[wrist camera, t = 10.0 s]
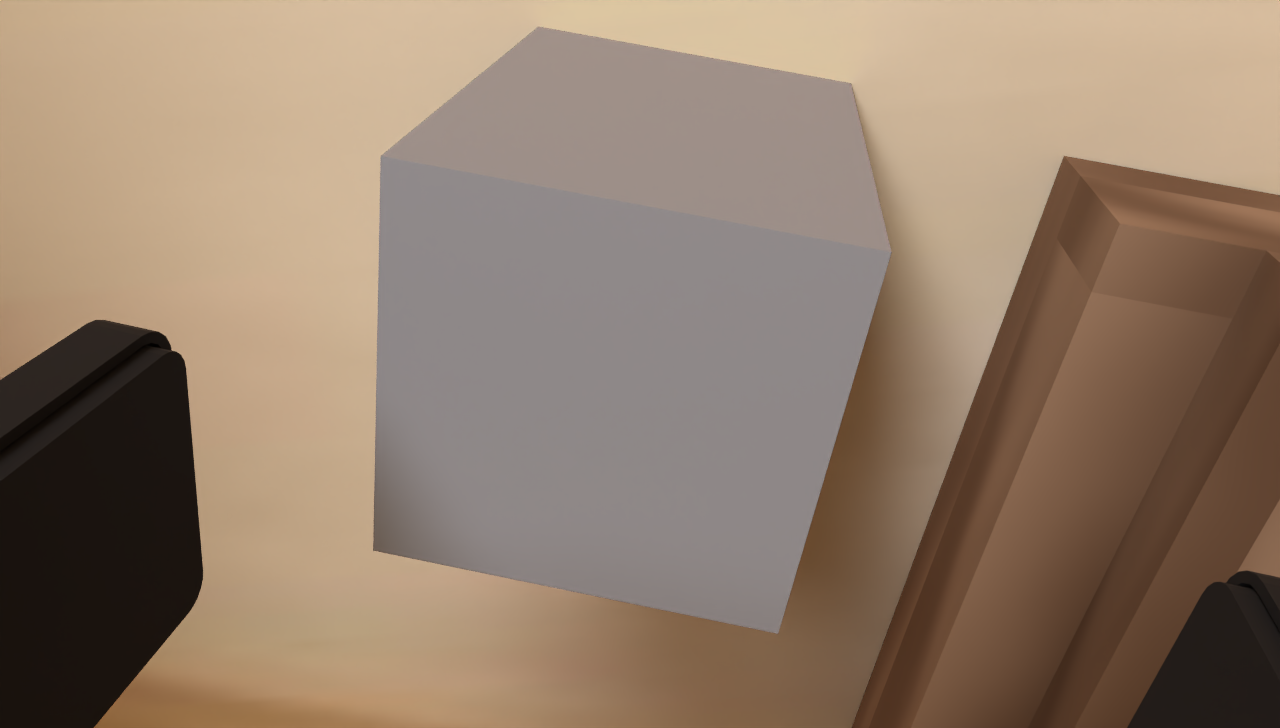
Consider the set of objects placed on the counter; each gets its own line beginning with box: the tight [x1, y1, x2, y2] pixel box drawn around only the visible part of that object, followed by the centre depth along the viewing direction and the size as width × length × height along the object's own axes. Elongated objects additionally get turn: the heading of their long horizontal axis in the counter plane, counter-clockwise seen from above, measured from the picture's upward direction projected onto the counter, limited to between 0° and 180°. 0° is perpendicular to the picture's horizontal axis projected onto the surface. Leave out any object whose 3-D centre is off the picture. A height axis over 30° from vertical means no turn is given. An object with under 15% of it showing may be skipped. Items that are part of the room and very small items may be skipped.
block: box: [373, 27, 892, 634], centre depth 14 cm, size 5×5×7 cm
